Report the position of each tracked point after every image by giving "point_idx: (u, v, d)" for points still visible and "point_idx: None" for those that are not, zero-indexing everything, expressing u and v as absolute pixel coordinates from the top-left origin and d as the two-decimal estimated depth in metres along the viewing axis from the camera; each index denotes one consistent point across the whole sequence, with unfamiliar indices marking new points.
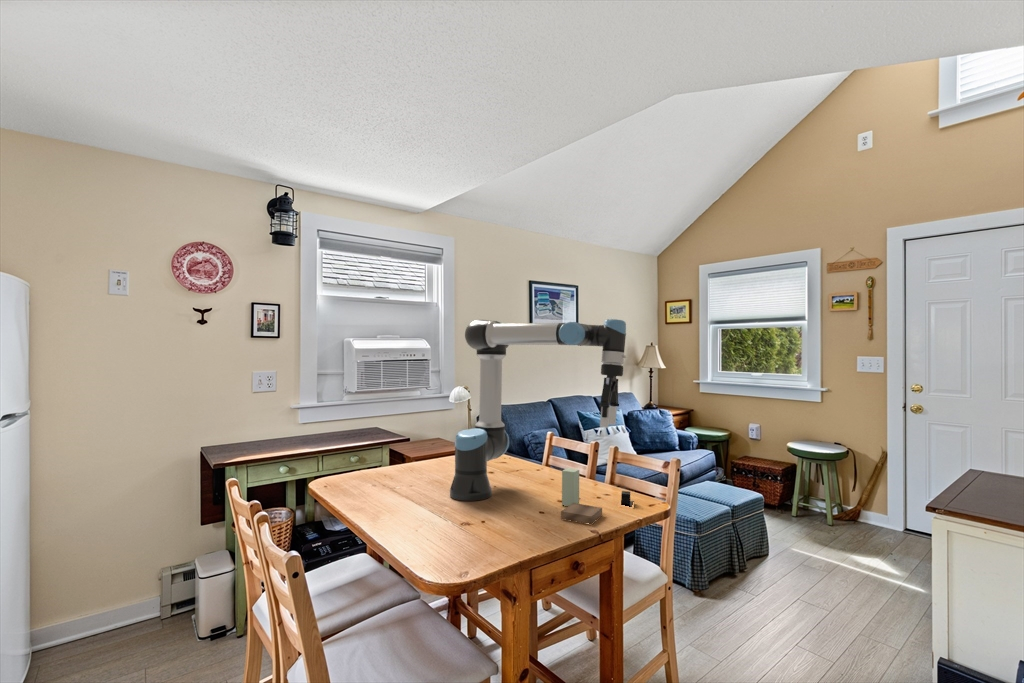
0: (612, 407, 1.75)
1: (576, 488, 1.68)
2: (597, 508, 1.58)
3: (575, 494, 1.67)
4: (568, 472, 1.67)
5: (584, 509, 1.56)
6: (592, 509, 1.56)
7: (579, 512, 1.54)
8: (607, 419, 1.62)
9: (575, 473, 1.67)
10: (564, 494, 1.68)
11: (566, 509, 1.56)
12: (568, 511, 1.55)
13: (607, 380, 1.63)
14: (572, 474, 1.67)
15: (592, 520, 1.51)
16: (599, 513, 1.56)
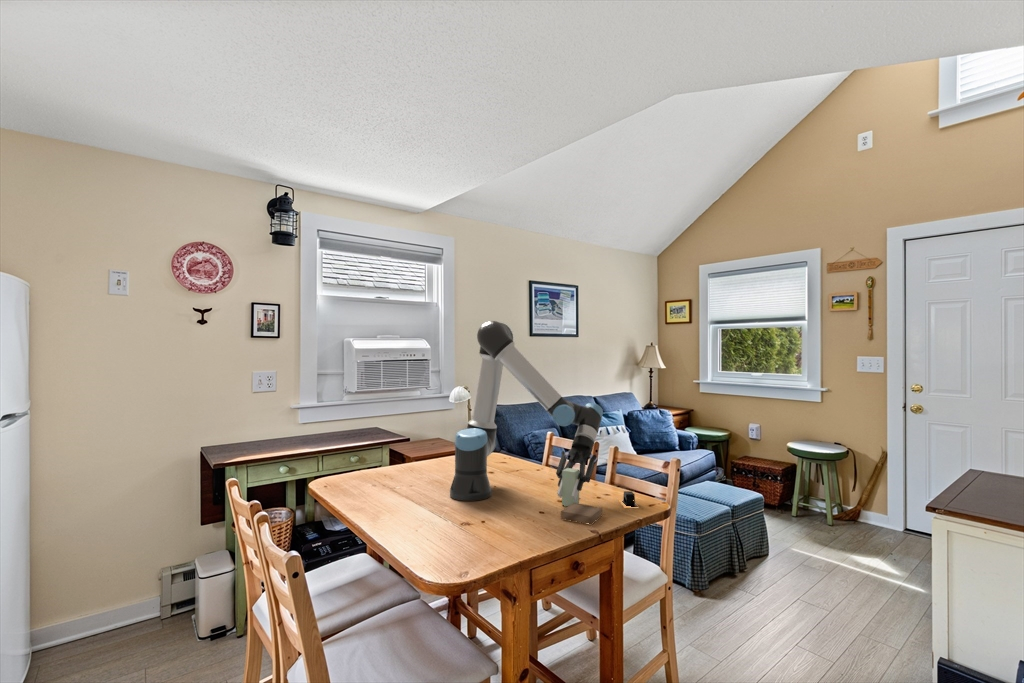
0: None
1: None
2: (597, 508, 1.58)
3: None
4: (568, 472, 1.67)
5: (584, 509, 1.56)
6: (592, 510, 1.56)
7: (579, 512, 1.54)
8: (577, 492, 1.67)
9: (575, 473, 1.67)
10: (564, 494, 1.68)
11: (566, 509, 1.56)
12: (568, 511, 1.55)
13: (596, 459, 1.73)
14: (572, 474, 1.67)
15: (592, 520, 1.51)
16: (599, 514, 1.56)
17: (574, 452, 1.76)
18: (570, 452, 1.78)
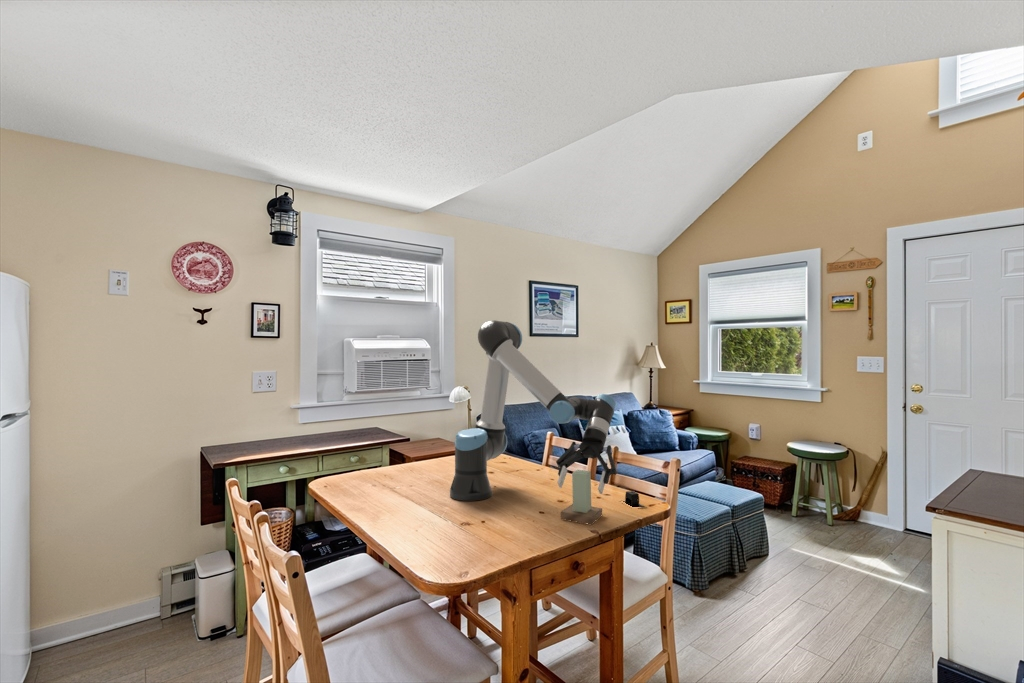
0: (565, 469, 1.62)
1: (588, 491, 1.55)
2: (597, 508, 1.58)
3: (587, 498, 1.54)
4: (579, 474, 1.54)
5: None
6: (592, 510, 1.56)
7: (579, 512, 1.54)
8: (604, 485, 1.54)
9: (586, 475, 1.54)
10: (575, 498, 1.55)
11: (566, 510, 1.56)
12: (568, 511, 1.55)
13: (611, 449, 1.61)
14: (583, 477, 1.54)
15: (592, 521, 1.51)
16: (599, 514, 1.56)
17: (585, 446, 1.63)
18: (580, 446, 1.65)
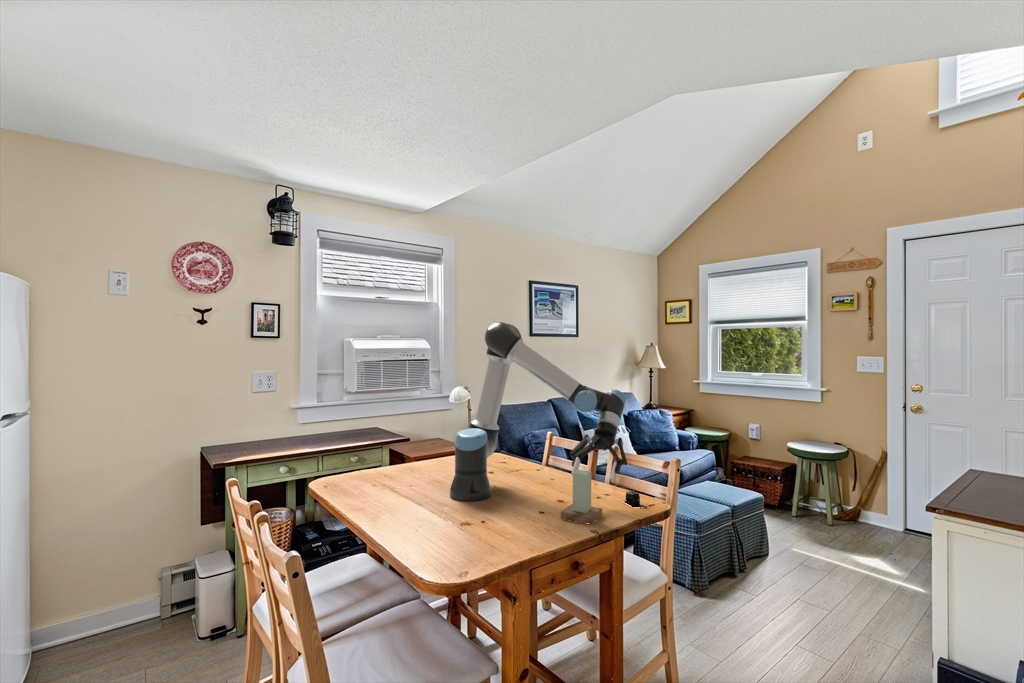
0: (579, 460, 1.71)
1: (588, 491, 1.55)
2: (597, 509, 1.58)
3: (587, 498, 1.54)
4: (579, 475, 1.54)
5: None
6: (592, 510, 1.56)
7: (579, 512, 1.54)
8: (615, 475, 1.63)
9: (587, 476, 1.54)
10: (575, 498, 1.55)
11: (566, 510, 1.56)
12: (568, 511, 1.55)
13: (622, 441, 1.71)
14: (584, 477, 1.53)
15: (592, 521, 1.51)
16: (599, 514, 1.56)
17: (597, 438, 1.73)
18: (592, 438, 1.75)
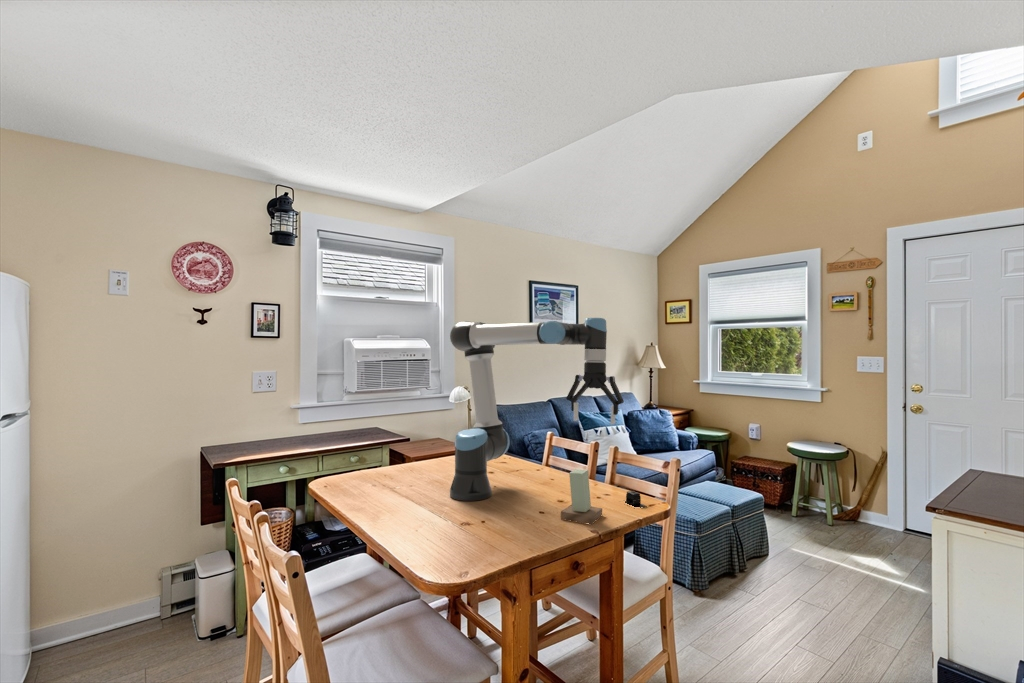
0: (577, 403, 1.76)
1: (586, 490, 1.55)
2: (597, 508, 1.58)
3: (585, 497, 1.54)
4: (576, 474, 1.54)
5: None
6: (592, 510, 1.56)
7: (579, 512, 1.54)
8: (614, 415, 1.70)
9: (583, 474, 1.54)
10: (574, 498, 1.55)
11: (566, 509, 1.56)
12: (568, 511, 1.55)
13: (613, 378, 1.70)
14: (580, 476, 1.54)
15: (592, 521, 1.51)
16: (599, 514, 1.56)
17: (588, 381, 1.72)
18: (584, 379, 1.74)
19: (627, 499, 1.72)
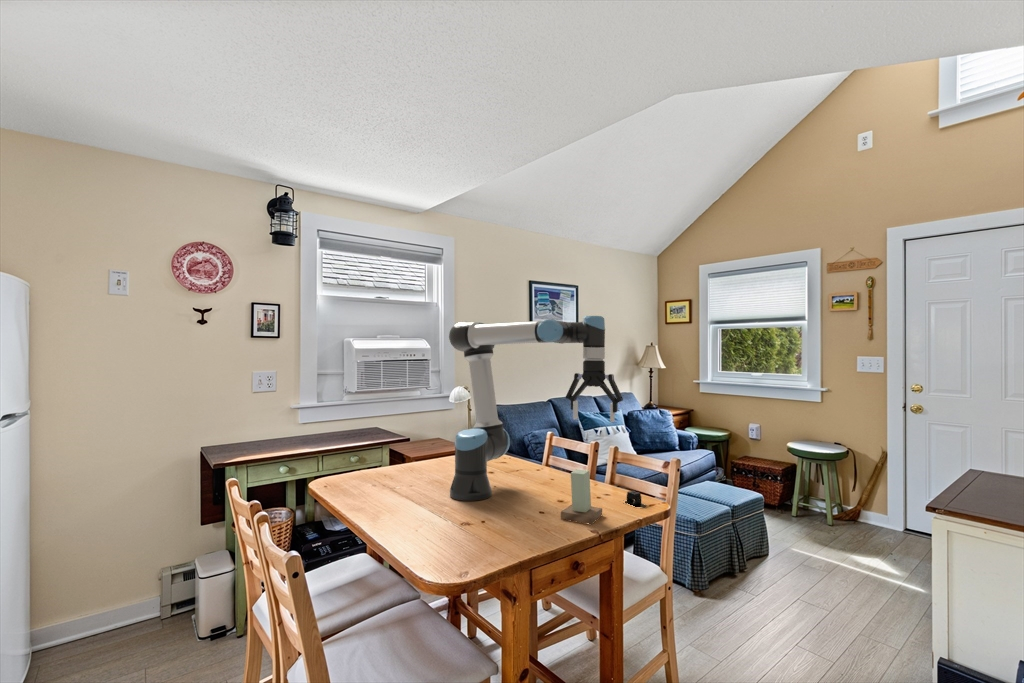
0: (576, 402, 1.75)
1: (587, 491, 1.55)
2: (597, 508, 1.58)
3: (586, 497, 1.54)
4: (577, 474, 1.54)
5: None
6: (592, 510, 1.56)
7: (579, 512, 1.54)
8: (614, 413, 1.69)
9: (585, 475, 1.54)
10: (574, 498, 1.55)
11: (566, 510, 1.56)
12: (568, 511, 1.55)
13: (612, 376, 1.69)
14: (582, 476, 1.54)
15: (592, 521, 1.51)
16: (599, 514, 1.56)
17: (587, 379, 1.71)
18: (583, 377, 1.73)
19: (628, 499, 1.72)
